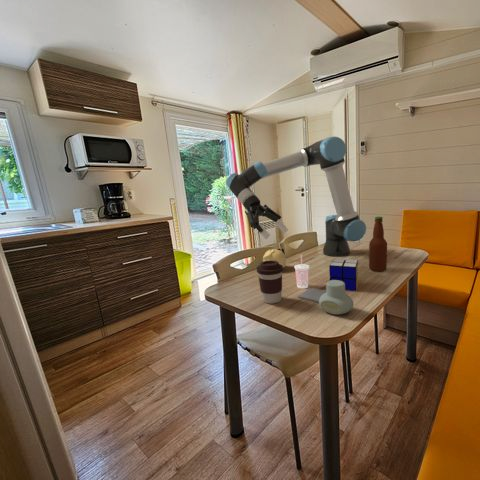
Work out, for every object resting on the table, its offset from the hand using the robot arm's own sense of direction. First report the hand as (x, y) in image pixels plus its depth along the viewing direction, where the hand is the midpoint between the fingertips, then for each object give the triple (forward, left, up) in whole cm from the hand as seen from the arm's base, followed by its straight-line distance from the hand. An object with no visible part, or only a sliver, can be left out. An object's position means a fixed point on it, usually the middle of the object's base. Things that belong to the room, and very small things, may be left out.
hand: (277, 234), depth 115 cm
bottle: (-41, +24, -22) cm, 52 cm away
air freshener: (+6, +33, -22) cm, 40 cm away
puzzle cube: (-15, +23, -22) cm, 35 cm away
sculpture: (-12, -15, -22) cm, 29 cm away
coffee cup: (+15, +11, -22) cm, 29 cm away
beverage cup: (-3, +11, -22) cm, 25 cm away
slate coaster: (+1, +21, -22) cm, 30 cm away
